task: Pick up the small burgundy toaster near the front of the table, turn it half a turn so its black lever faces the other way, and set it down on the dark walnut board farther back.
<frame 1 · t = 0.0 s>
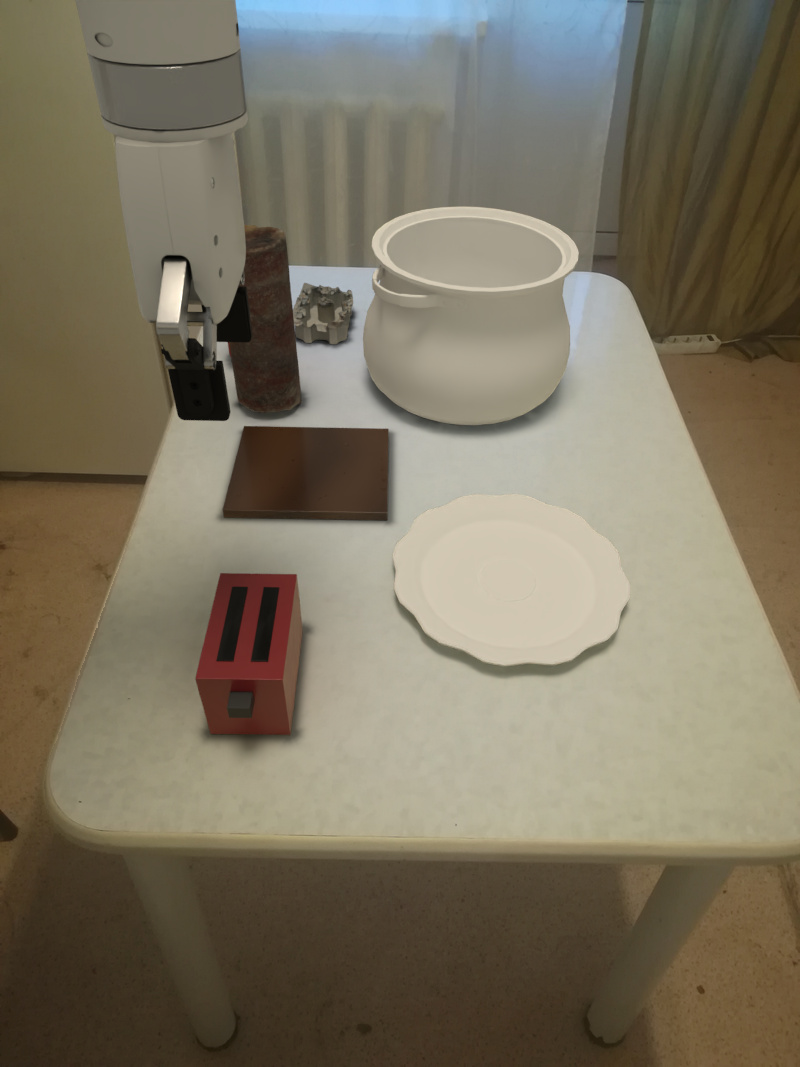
hand: (218, 376, 51), 22 cm above the table, tool pointing down, fingers open, 9 cm apart
toaster: (259, 679, 60), on the table
board: (311, 474, 79), on the table
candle: (269, 404, 88), on the table
pot: (461, 380, 93), on the table
plate: (507, 583, 68), on the table
grey hollow ruin block: (323, 326, 102), on the table
beverage can: (255, 359, 95), on the table
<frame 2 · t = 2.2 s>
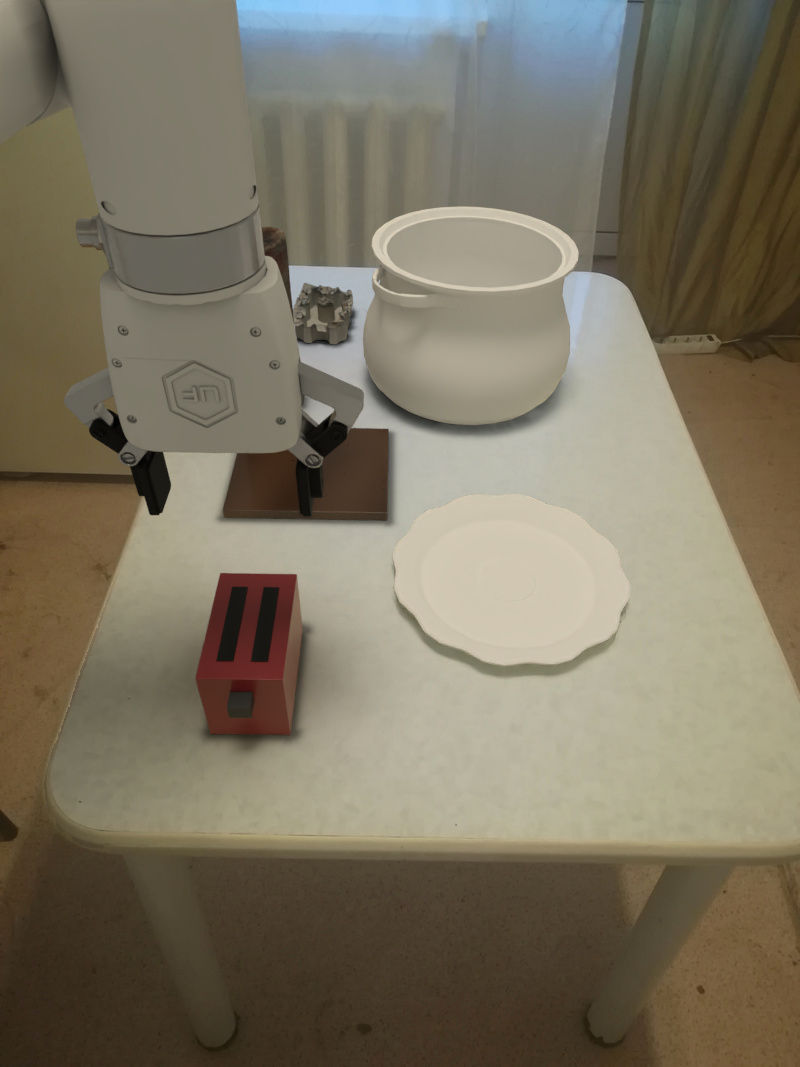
hand: (234, 502, 49), 17 cm above the table, tool pointing down, fingers open, 9 cm apart
nothing on the table moved.
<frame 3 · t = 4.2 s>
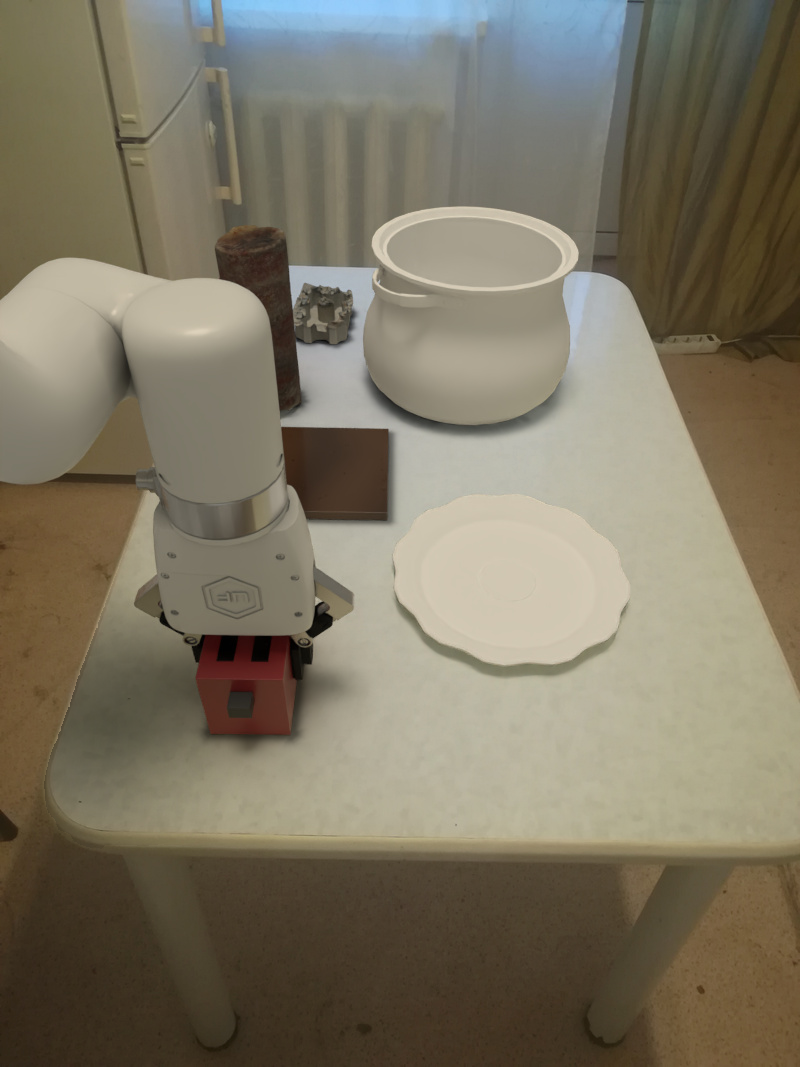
hand: (256, 663, 58), 2 cm above the table, tool pointing down, fingers closed on toaster, 6 cm apart
toaster: (259, 679, 60), on the table, touching gripper
everything else where it was.
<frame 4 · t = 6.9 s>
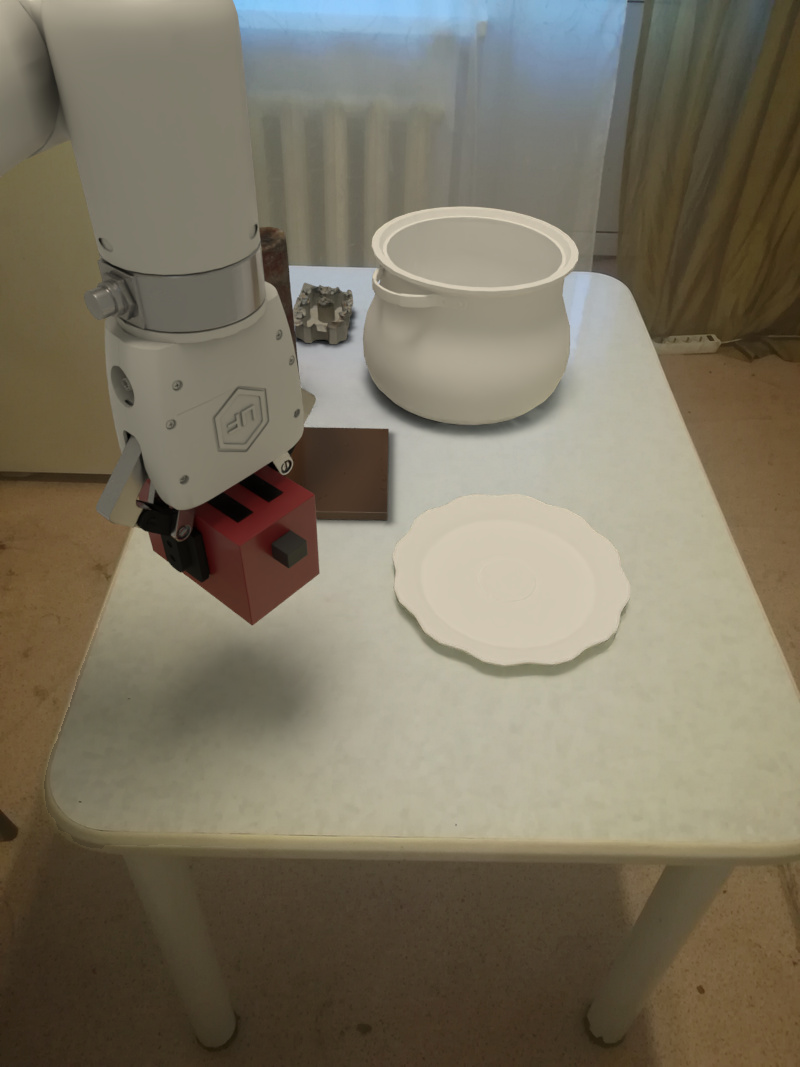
hand: (231, 539, 49), 15 cm above the table, tool pointing down, fingers closed on toaster, 6 cm apart
toaster: (235, 562, 51), point 13 cm above the table, touching gripper
everything else where it was.
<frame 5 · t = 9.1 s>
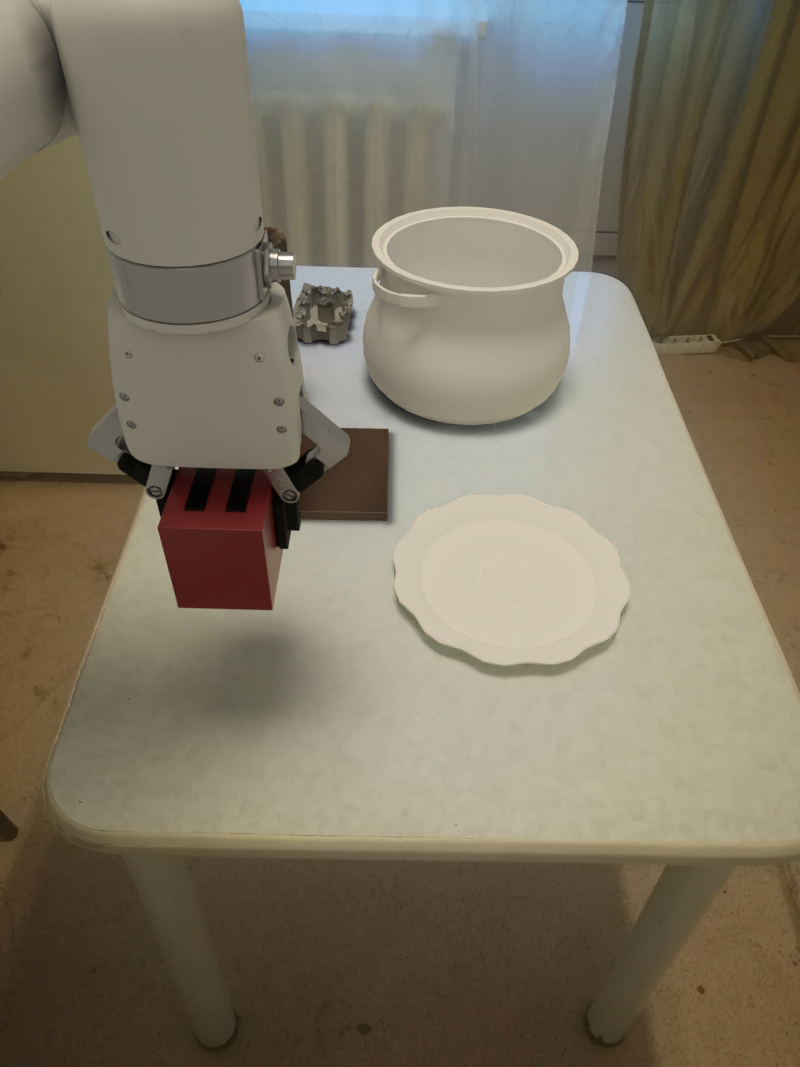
hand: (234, 531, 50), 15 cm above the table, tool pointing down, fingers closed on toaster, 6 cm apart
toaster: (238, 553, 51), point 13 cm above the table, touching gripper
everything else where it was.
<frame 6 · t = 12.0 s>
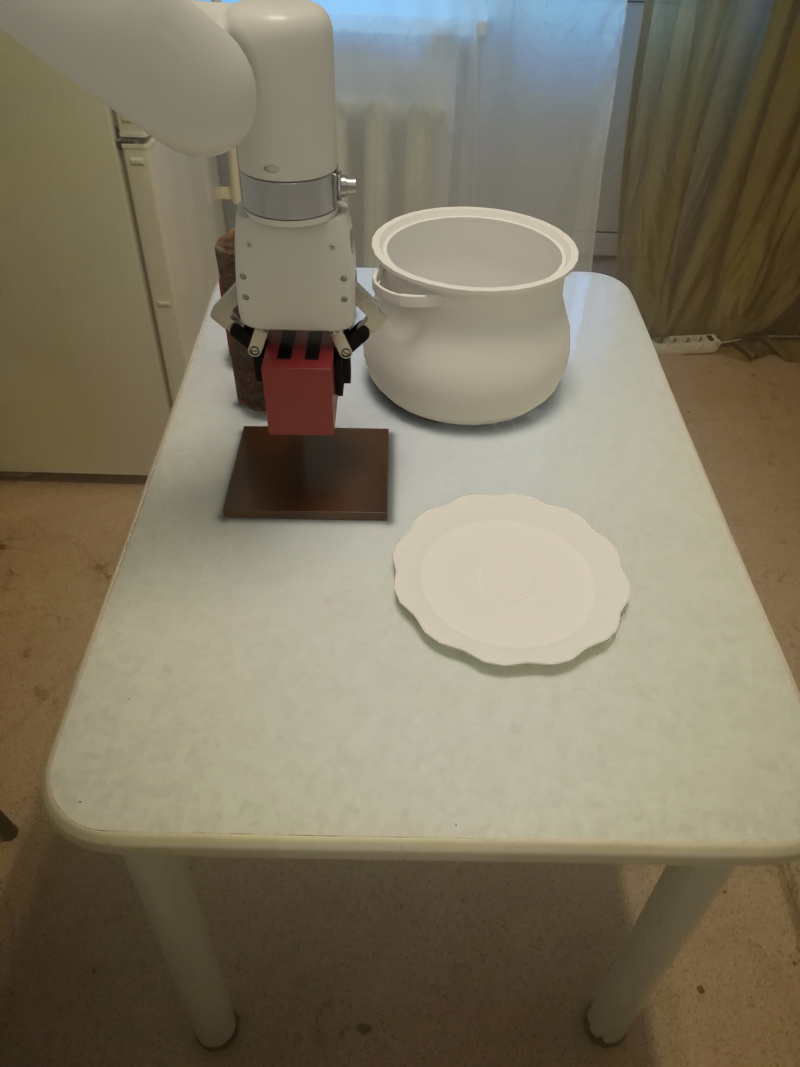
hand: (304, 386, 71), 11 cm above the table, tool pointing down, fingers closed on toaster, 6 cm apart
toaster: (306, 404, 73), point 9 cm above the table, touching gripper
everything else where it was.
when the fingers open (3 cm above the table, at t = 14.2 s): toaster stays where it is, resting on board.
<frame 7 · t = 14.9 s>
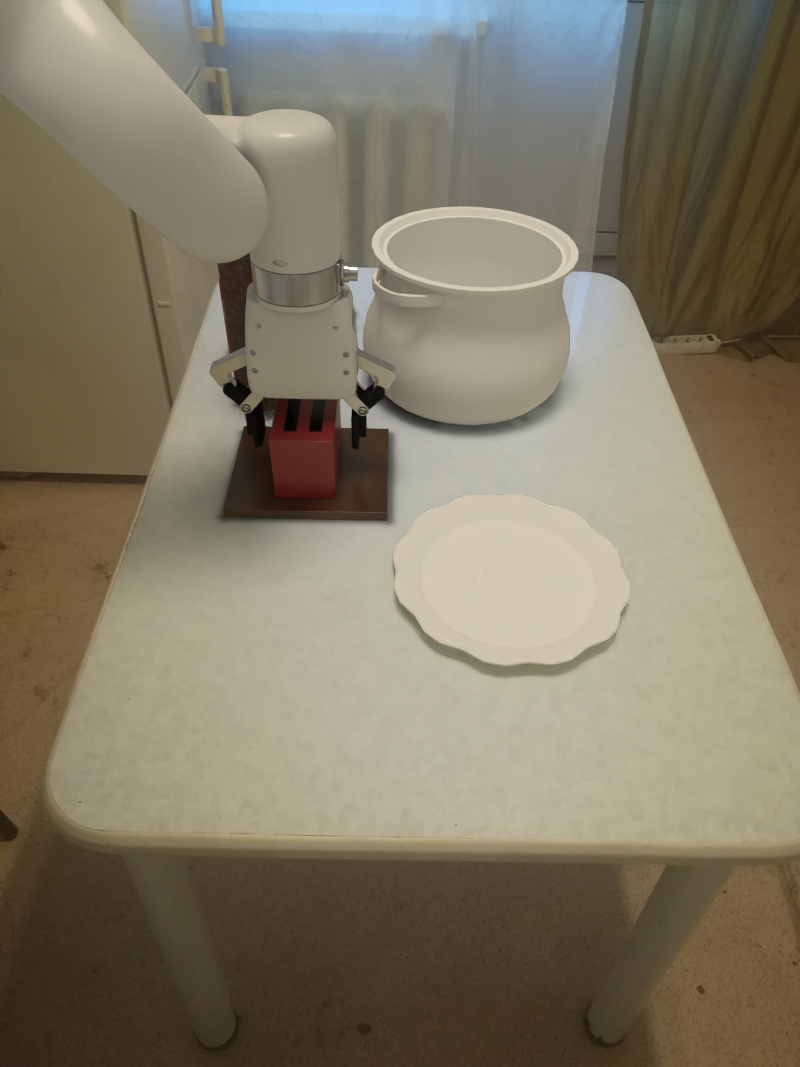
hand: (308, 440, 76), 4 cm above the table, tool pointing down, fingers open, 9 cm apart
toaster: (309, 466, 78), point 1 cm above the table, touching board
everything else where it was.
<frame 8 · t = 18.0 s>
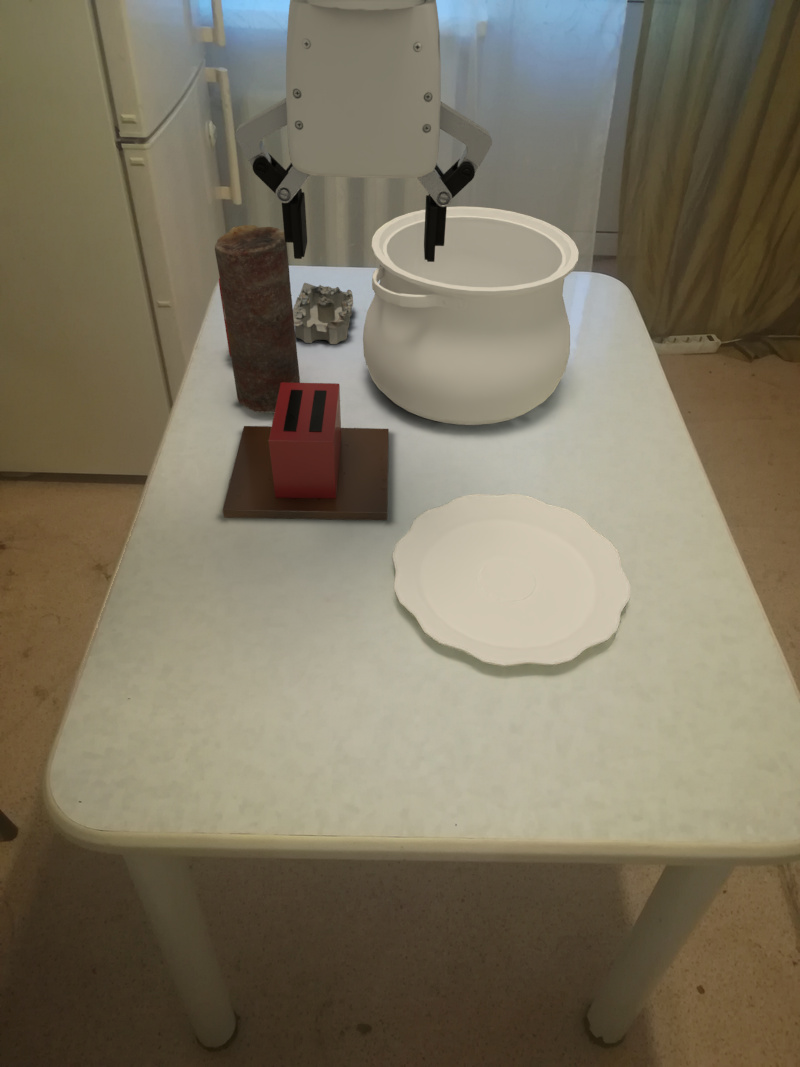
hand: (365, 252, 56), 26 cm above the table, tool pointing down, fingers open, 9 cm apart
nothing on the table moved.
at the end: toaster inside the target area on the board (0.1 cm from its centre), point 1.0 cm above the board's base; toaster tilted 0°; the gripper is holding nothing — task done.
